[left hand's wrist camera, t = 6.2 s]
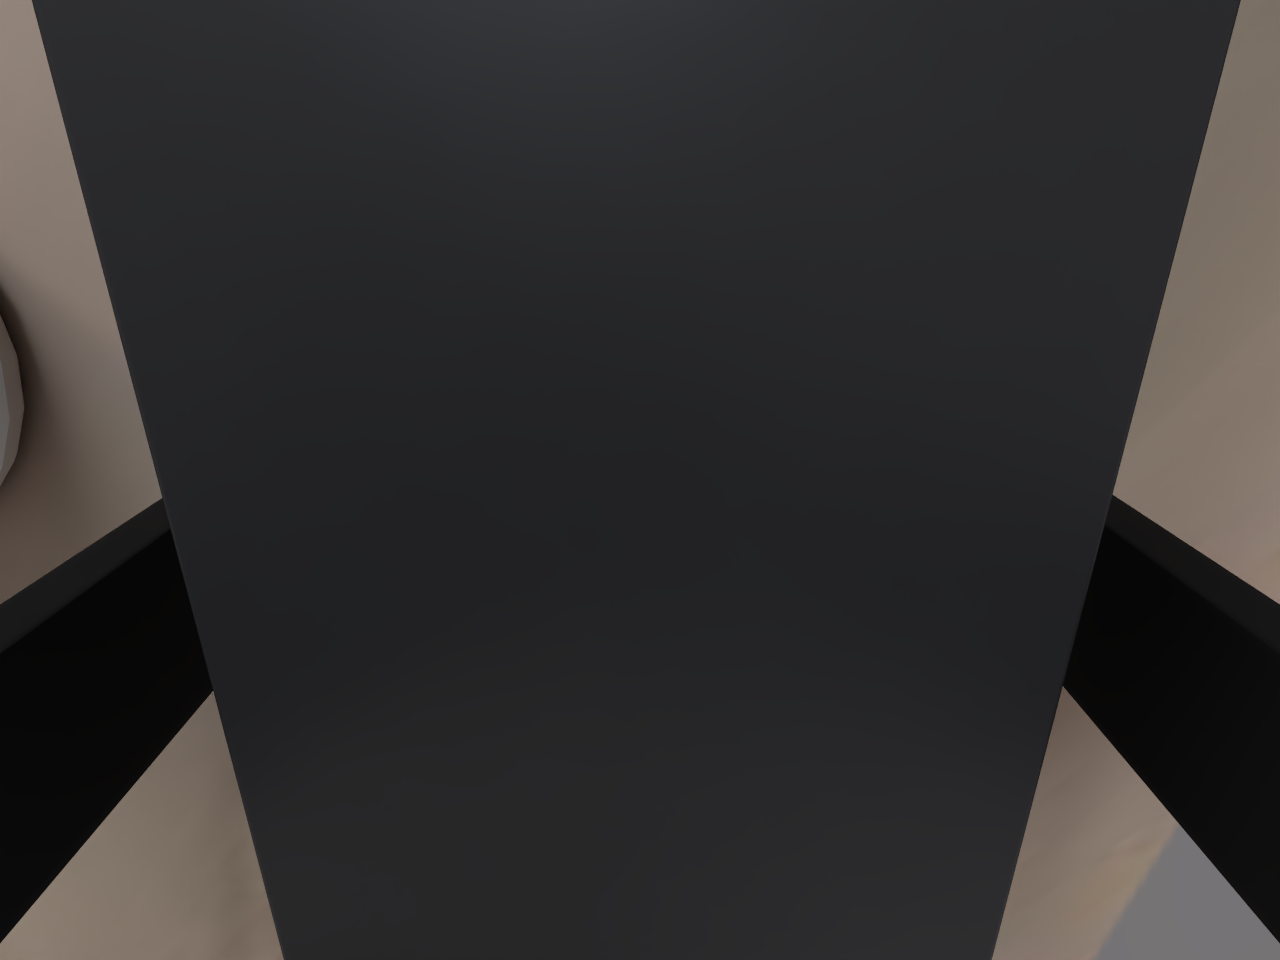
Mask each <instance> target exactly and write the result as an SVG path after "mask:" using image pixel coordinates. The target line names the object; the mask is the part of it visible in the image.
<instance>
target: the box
mask: <svg viewBox="0 0 1280 960" xmlns="http://www.w3.org/2000/svg"><path fill="white" fill-rule="evenodd" d="M1240 1H1241V0H32V3H33V6H34V10H35V14H36V18H37V22H38V25H39V29H40V33H41V37H42V41H43V44H44V48H45V52H46V56H47V60H48V63H49V67H50V71H51V75H52V79H53V82H54V86H55V90H56V94H57V98H58V101H59V105H60V109H61V113H62V117H63V120H64V124H65V128H66V132H67V136H68V139H69V143H70V147H71V151H72V155H73V159H74V162H75V166H76V170H77V174H78V178H79V181H80V185H81V189H82V193H83V197H84V200H85V204H86V208H87V212H88V216H89V219H90V223H91V227H92V231H93V235H94V238H95V242H96V246H97V250H98V254H99V257H100V261H101V265H102V269H103V273H104V276H105V280H106V284H107V288H108V292H109V295H110V299H111V303H112V307H113V311H114V314H115V318H116V322H117V326H118V330H119V334H120V337H121V341H122V345H123V349H124V353H125V356H126V360H127V364H128V368H129V372H130V375H131V379H132V383H133V387H134V391H135V394H136V398H137V402H138V406H139V410H140V413H141V417H142V421H143V425H144V429H145V432H146V436H147V440H148V444H149V448H150V451H151V455H152V459H153V463H154V467H155V470H156V474H157V478H158V482H159V486H160V490H161V493H162V497H163V501H164V505H165V509H166V512H167V516H168V520H169V524H170V528H171V531H172V535H173V539H174V543H175V547H176V550H177V554H178V558H179V562H180V566H181V569H182V573H183V577H184V581H185V585H186V588H187V592H188V596H189V600H190V604H191V607H192V611H193V615H194V619H195V623H196V626H197V630H198V634H199V638H200V642H201V645H202V649H203V653H204V657H205V661H206V665H207V668H208V672H209V676H210V680H211V684H212V687H213V691H214V695H215V699H216V703H217V706H218V710H219V714H220V718H221V722H222V725H223V729H224V733H225V737H226V741H227V744H228V748H229V752H230V756H231V760H232V763H233V767H234V771H235V775H236V779H237V782H238V786H239V790H240V794H241V798H242V801H243V805H244V809H245V813H246V817H247V821H248V824H249V828H250V832H251V836H252V840H253V843H254V847H255V851H256V855H257V859H258V862H259V866H260V870H261V874H262V878H263V881H264V885H265V889H266V893H267V897H268V900H269V904H270V908H271V912H272V916H273V919H274V923H275V927H276V931H277V935H278V938H279V942H280V946H281V950H282V954H283V957H284V960H992V956H993V952H994V948H995V945H996V941H997V937H998V933H999V929H1000V925H1001V921H1002V918H1003V914H1004V910H1005V906H1006V902H1007V898H1008V894H1009V891H1010V887H1011V883H1012V879H1013V875H1014V871H1015V867H1016V864H1017V860H1018V856H1019V852H1020V848H1021V844H1022V841H1023V837H1024V833H1025V829H1026V825H1027V821H1028V817H1029V814H1030V810H1031V806H1032V802H1033V798H1034V794H1035V790H1036V787H1037V783H1038V779H1039V775H1040V771H1041V767H1042V763H1043V760H1044V756H1045V752H1046V748H1047V744H1048V740H1049V736H1050V733H1051V729H1052V725H1053V721H1054V717H1055V713H1056V710H1057V706H1058V702H1059V698H1060V694H1061V690H1062V686H1063V683H1064V679H1065V675H1066V671H1067V667H1068V663H1069V659H1070V656H1071V652H1072V648H1073V644H1074V640H1075V636H1076V632H1077V629H1078V625H1079V621H1080V617H1081V613H1082V609H1083V605H1084V602H1085V598H1086V594H1087V590H1088V586H1089V582H1090V579H1091V575H1092V571H1093V567H1094V563H1095V559H1096V555H1097V552H1098V548H1099V544H1100V540H1101V536H1102V532H1103V528H1104V525H1105V521H1106V517H1107V513H1108V509H1109V505H1110V501H1111V498H1112V494H1113V490H1114V486H1115V482H1116V478H1117V475H1118V471H1119V467H1120V463H1121V459H1122V455H1123V451H1124V448H1125V444H1126V440H1127V436H1128V432H1129V428H1130V424H1131V421H1132V417H1133V413H1134V409H1135V405H1136V401H1137V397H1138V394H1139V390H1140V386H1141V382H1142V378H1143V374H1144V370H1145V367H1146V363H1147V359H1148V355H1149V351H1150V347H1151V344H1152V340H1153V336H1154V332H1155V328H1156V324H1157V320H1158V317H1159V313H1160V309H1161V305H1162V301H1163V297H1164V293H1165V290H1166V286H1167V282H1168V278H1169V274H1170V270H1171V266H1172V263H1173V259H1174V255H1175V251H1176V247H1177V243H1178V240H1179V236H1180V232H1181V228H1182V224H1183V220H1184V216H1185V213H1186V209H1187V205H1188V201H1189V197H1190V193H1191V189H1192V186H1193V182H1194V178H1195V174H1196V170H1197V166H1198V162H1199V159H1200V155H1201V151H1202V147H1203V143H1204V139H1205V135H1206V132H1207V128H1208V124H1209V120H1210V116H1211V112H1212V109H1213V105H1214V101H1215V97H1216V93H1217V89H1218V85H1219V82H1220V78H1221V74H1222V70H1223V66H1224V62H1225V58H1226V55H1227V51H1228V47H1229V43H1230V39H1231V35H1232V31H1233V28H1234V24H1235V20H1236V16H1237V12H1238V8H1239V5H1240Z"/></svg>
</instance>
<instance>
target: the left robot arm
mask: <svg viewBox="0 0 1280 960" xmlns="http://www.w3.org/2000/svg"><path fill="white" fill-rule="evenodd" d="M1063 687H1064V688H1065V689H1066V690H1067V691H1068V693H1069V694H1070V695H1071V696H1072V697H1073V698H1074V700H1075V701H1076V702H1077V703H1078V704H1079V706H1080V707H1081V708H1082V709H1083V710H1084V712H1085V713H1086V714H1087V715H1088V716H1089V717H1090V719H1091V720H1092V721H1093V722H1094V723H1095V725H1096V726H1097V727H1098V728H1099V729H1100V730H1101V732H1102V733H1103V734H1104V735H1105V736H1106V738H1107V739H1108V740H1109V741H1110V742H1111V744H1112V745H1113V746H1114V747H1115V748H1116V749H1117V751H1118V752H1119V753H1120V754H1121V755H1122V757H1123V758H1124V759H1125V760H1126V761H1127V763H1128V764H1129V765H1130V766H1131V767H1132V768H1133V770H1134V771H1135V772H1136V773H1137V774H1138V776H1139V777H1140V778H1141V779H1142V780H1143V782H1144V783H1145V784H1146V785H1147V786H1148V787H1149V789H1150V790H1151V791H1152V792H1153V793H1154V795H1155V796H1156V797H1157V798H1158V799H1159V801H1160V802H1161V803H1162V804H1163V805H1164V806H1165V808H1166V809H1167V810H1168V811H1169V812H1170V814H1171V815H1172V816H1173V817H1174V818H1175V819H1176V821H1177V822H1178V823H1179V824H1180V825H1181V827H1182V828H1183V829H1184V830H1185V831H1186V833H1187V834H1188V835H1189V836H1190V837H1191V838H1192V840H1193V841H1194V842H1195V843H1196V844H1197V846H1198V847H1199V848H1200V849H1201V850H1202V852H1203V853H1204V854H1205V855H1206V856H1207V857H1208V859H1209V860H1210V861H1211V862H1212V863H1213V865H1214V866H1215V867H1216V868H1217V869H1218V871H1219V872H1220V873H1221V874H1222V875H1223V876H1224V878H1225V879H1226V880H1227V881H1228V882H1229V884H1230V885H1231V886H1232V887H1233V888H1234V889H1235V891H1236V892H1237V893H1238V894H1239V895H1240V897H1241V898H1242V899H1243V900H1244V901H1245V903H1246V904H1247V905H1248V906H1249V907H1250V908H1251V910H1252V911H1253V912H1254V913H1255V914H1256V916H1257V917H1258V918H1259V919H1260V920H1261V922H1262V923H1263V924H1264V925H1265V926H1266V927H1267V929H1268V930H1269V931H1270V932H1271V933H1272V935H1273V936H1274V937H1275V938H1276V939H1277V941H1278V942H1279V943H1280V604H1278V603H1277V602H1275V601H1273V600H1272V599H1270V598H1269V597H1267V596H1266V595H1264V594H1263V593H1261V592H1260V591H1258V590H1257V589H1255V588H1254V587H1252V586H1251V585H1249V584H1248V583H1246V582H1245V581H1243V580H1242V579H1240V578H1239V577H1237V576H1235V575H1234V574H1232V573H1231V572H1229V571H1228V570H1226V569H1225V568H1223V567H1222V566H1220V565H1219V564H1217V563H1216V562H1214V561H1213V560H1211V559H1210V558H1208V557H1207V556H1205V555H1204V554H1202V553H1200V552H1199V551H1197V550H1196V549H1194V548H1193V547H1191V546H1190V545H1188V544H1187V543H1185V542H1184V541H1182V540H1181V539H1179V538H1178V537H1176V536H1175V535H1173V534H1172V533H1170V532H1169V531H1167V530H1165V529H1164V528H1162V527H1161V526H1159V525H1158V524H1156V523H1155V522H1153V521H1152V520H1150V519H1149V518H1147V517H1146V516H1144V515H1143V514H1141V513H1140V512H1138V511H1137V510H1135V509H1134V508H1132V507H1131V506H1129V505H1127V504H1126V503H1124V502H1123V501H1121V500H1120V499H1118V498H1117V497H1115V496H1114V495H1112V498H1111V501H1110V505H1109V509H1108V513H1107V517H1106V521H1105V525H1104V528H1103V532H1102V536H1101V540H1100V544H1099V548H1098V552H1097V555H1096V559H1095V563H1094V567H1093V571H1092V575H1091V579H1090V582H1089V586H1088V590H1087V594H1086V598H1085V602H1084V605H1083V609H1082V613H1081V617H1080V621H1079V625H1078V629H1077V632H1076V636H1075V640H1074V644H1073V648H1072V652H1071V656H1070V659H1069V663H1068V667H1067V671H1066V675H1065V679H1064V683H1063ZM212 691H213V687H212V684H211V680H210V676H209V672H208V668H207V665H206V661H205V657H204V653H203V649H202V645H201V642H200V638H199V634H198V630H197V626H196V623H195V619H194V615H193V611H192V607H191V604H190V600H189V596H188V592H187V588H186V585H185V581H184V577H183V573H182V569H181V566H180V562H179V558H178V554H177V550H176V547H175V543H174V539H173V535H172V531H171V528H170V524H169V520H168V516H167V512H166V509H165V505H164V501H163V498H162V499H160V500H159V501H157V502H156V503H154V504H153V505H151V506H149V507H148V508H146V509H145V510H143V511H142V512H140V513H139V514H137V515H136V516H134V517H133V518H131V519H130V520H128V521H127V522H125V523H124V524H122V525H121V526H119V527H118V528H116V529H115V530H113V531H111V532H110V533H108V534H107V535H105V536H104V537H102V538H101V539H99V540H98V541H96V542H95V543H93V544H92V545H90V546H89V547H87V548H86V549H84V550H83V551H81V552H80V553H78V554H76V555H75V556H73V557H72V558H70V559H69V560H67V561H66V562H64V563H63V564H61V565H60V566H58V567H57V568H55V569H54V570H52V571H51V572H49V573H48V574H46V575H45V576H43V577H41V578H40V579H38V580H37V581H35V582H34V583H32V584H31V585H29V586H28V587H26V588H25V589H23V590H22V591H20V592H19V593H17V594H16V595H14V596H13V597H11V598H10V599H8V600H7V601H5V602H3V603H2V604H0V943H1V942H2V941H3V939H4V938H5V937H6V936H7V935H8V933H9V932H10V931H11V930H12V929H13V927H14V926H15V925H16V924H17V923H18V922H19V920H20V919H21V918H22V917H23V916H24V914H25V913H26V912H27V911H28V910H29V908H30V907H31V906H32V905H33V904H34V903H35V901H36V900H37V899H38V898H39V897H40V895H41V894H42V893H43V892H44V891H45V890H46V888H47V887H48V886H49V885H50V884H51V882H52V881H53V880H54V879H55V878H56V876H57V875H58V874H59V873H60V872H61V871H62V869H63V868H64V867H65V866H66V865H67V863H68V862H69V861H70V860H71V859H72V857H73V856H74V855H75V854H76V853H77V852H78V850H79V849H80V848H81V847H82V846H83V844H84V843H85V842H86V841H87V840H88V838H89V837H90V836H91V835H92V834H93V833H94V831H95V830H96V829H97V828H98V827H99V825H100V824H101V823H102V822H103V821H104V819H105V818H106V817H107V816H108V815H109V814H110V812H111V811H112V810H113V809H114V808H115V806H116V805H117V804H118V803H119V802H120V801H121V799H122V798H123V797H124V796H125V795H126V793H127V792H128V791H129V790H130V789H131V787H132V786H133V785H134V784H135V783H136V782H137V780H138V779H139V778H140V777H141V776H142V774H143V773H144V772H145V771H146V770H147V768H148V767H149V766H150V765H151V764H152V763H153V761H154V760H155V759H156V758H157V757H158V755H159V754H160V753H161V752H162V751H163V749H164V748H165V747H166V746H167V745H168V744H169V742H170V741H171V740H172V739H173V738H174V736H175V735H176V734H177V733H178V732H179V730H180V729H181V728H182V727H183V726H184V725H185V723H186V722H187V721H188V720H189V719H190V717H191V716H192V715H193V714H194V713H195V712H196V710H197V709H198V708H199V707H200V706H201V704H202V703H203V702H204V701H205V700H206V698H207V697H208V696H209V695H210V694H211V693H212Z"/></svg>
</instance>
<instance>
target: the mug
mask: <svg viewBox="0 0 1280 960" xmlns="http://www.w3.org/2000/svg"><path fill="white" fill-rule="evenodd" d="M24 408H25V407H24V400H23V393H22V386H21V379H20V372H19V365H18V358H17V354H16V352H15V349H14V347H13V345H12V342H11V340H10V337H9V335H8V332H7V330H6V327H5V325H4V323H3V320H2V318H1V315H0V486H1V484H2V482H3V481H4V479H5V477H6V475H7V473H8V472H9V470H10V468H11V466H12V464H13V463H14V460H15V458H16V455H17V452H18V446H19V439H20V433H21V427H22V420H23V414H24Z"/></svg>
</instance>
